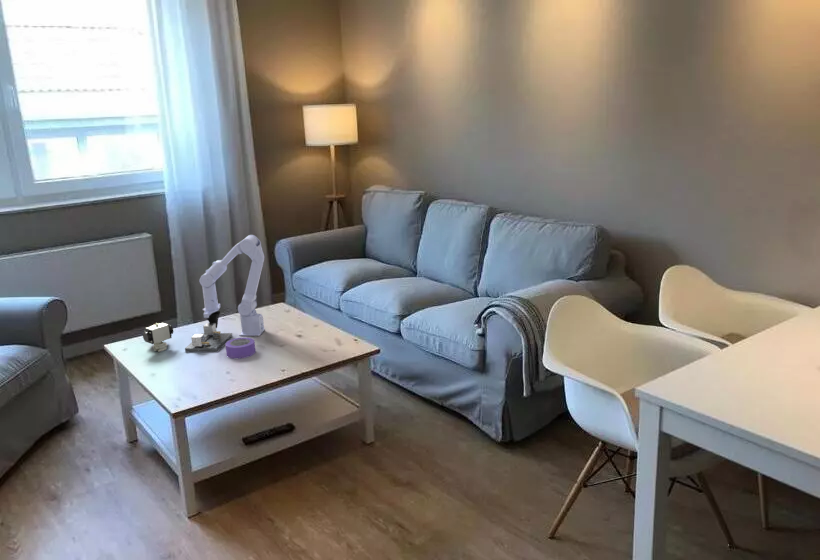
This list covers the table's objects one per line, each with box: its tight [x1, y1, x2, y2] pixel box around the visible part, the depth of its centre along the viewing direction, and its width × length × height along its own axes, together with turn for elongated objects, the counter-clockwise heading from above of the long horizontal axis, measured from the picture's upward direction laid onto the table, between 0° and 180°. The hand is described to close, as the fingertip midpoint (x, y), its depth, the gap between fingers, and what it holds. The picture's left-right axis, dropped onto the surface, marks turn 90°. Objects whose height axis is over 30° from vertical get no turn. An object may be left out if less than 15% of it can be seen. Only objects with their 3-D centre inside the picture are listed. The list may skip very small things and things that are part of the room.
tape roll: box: [224, 336, 256, 359], centre depth 287 cm, size 12×12×5 cm
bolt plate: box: [184, 332, 233, 353], centre depth 299 cm, size 14×18×6 cm
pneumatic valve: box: [142, 322, 174, 353], centre depth 294 cm, size 6×12×12 cm, turn 140°
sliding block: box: [203, 322, 221, 335], centre depth 305 cm, size 6×4×4 cm, turn 84°
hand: (214, 328), depth 311 cm, fingers closed
